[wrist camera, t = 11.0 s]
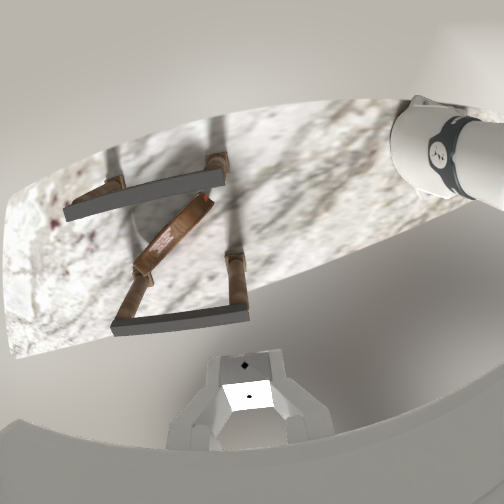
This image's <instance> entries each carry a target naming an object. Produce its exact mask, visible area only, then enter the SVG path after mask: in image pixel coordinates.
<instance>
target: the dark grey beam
mask: <svg viewBox="0 0 504 504" xmlns="http://www.w3.org/2000/svg"><path fill="white" fill-rule="evenodd" d="M245 321H250V319H249V312H248V307H247V302H246V303H240V304H234V305H227V306H221V307H214V308H208V309H201V310H193V311H186V312H179V313H171V314H163V315H155V316H146V317H137V318H128V319H118V320H113V322H112V324H111V326H110V329H111V331H112V333H113V334H114V336H115V337H116V336H129V335H141V334H152V333H162V332H172V331H180V330H188V329H197V328H205V327H212V326H219V325H225V324H232V323H239V322H245Z"/></svg>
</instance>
